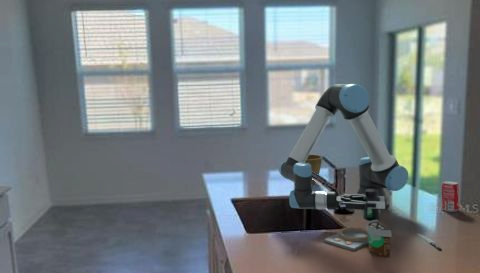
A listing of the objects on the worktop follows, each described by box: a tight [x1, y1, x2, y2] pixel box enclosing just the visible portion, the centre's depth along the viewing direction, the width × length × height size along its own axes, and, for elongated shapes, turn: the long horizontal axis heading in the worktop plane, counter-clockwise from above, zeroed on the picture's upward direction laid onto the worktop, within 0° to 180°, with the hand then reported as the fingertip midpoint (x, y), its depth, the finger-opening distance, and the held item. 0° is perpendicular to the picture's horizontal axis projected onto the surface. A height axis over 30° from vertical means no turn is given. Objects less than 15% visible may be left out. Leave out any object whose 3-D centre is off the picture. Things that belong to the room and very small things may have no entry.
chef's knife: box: [416, 233, 443, 252], centre depth 158 cm, size 19×1×3 cm
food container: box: [365, 220, 393, 258], centre depth 149 cm, size 12×6×10 cm, turn 5°
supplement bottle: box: [362, 189, 382, 222], centre depth 172 cm, size 7×7×12 cm
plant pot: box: [305, 154, 323, 185], centre depth 250 cm, size 15×15×16 cm
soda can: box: [441, 180, 460, 213], centre depth 192 cm, size 7×7×13 cm
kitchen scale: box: [323, 226, 369, 252], centre depth 162 cm, size 13×17×2 cm
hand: (384, 202), depth 170 cm, fingers closed on supplement bottle, 7 cm apart
